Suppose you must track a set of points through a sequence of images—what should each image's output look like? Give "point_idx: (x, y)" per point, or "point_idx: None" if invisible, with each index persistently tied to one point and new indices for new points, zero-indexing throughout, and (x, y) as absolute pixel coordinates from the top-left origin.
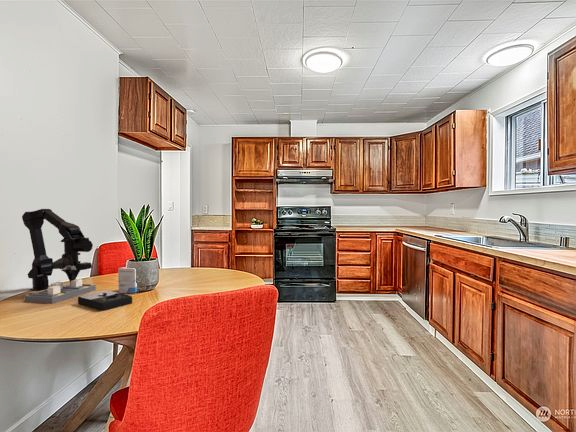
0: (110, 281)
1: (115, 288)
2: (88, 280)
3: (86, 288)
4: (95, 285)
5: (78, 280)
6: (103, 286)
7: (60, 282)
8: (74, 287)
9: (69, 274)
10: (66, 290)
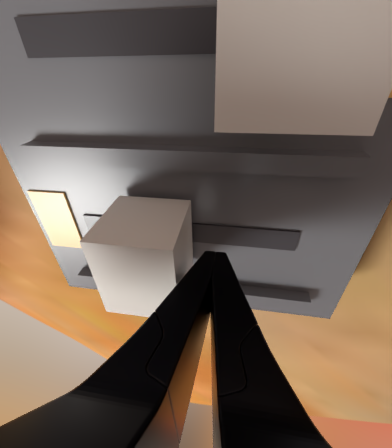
0: (202, 389)
1: (34, 295)
2: (340, 412)
3: (34, 202)
4: (68, 282)
5: (92, 272)
6: None
7: (240, 87)
8: (91, 160)
9: (216, 375)
10: (75, 17)
